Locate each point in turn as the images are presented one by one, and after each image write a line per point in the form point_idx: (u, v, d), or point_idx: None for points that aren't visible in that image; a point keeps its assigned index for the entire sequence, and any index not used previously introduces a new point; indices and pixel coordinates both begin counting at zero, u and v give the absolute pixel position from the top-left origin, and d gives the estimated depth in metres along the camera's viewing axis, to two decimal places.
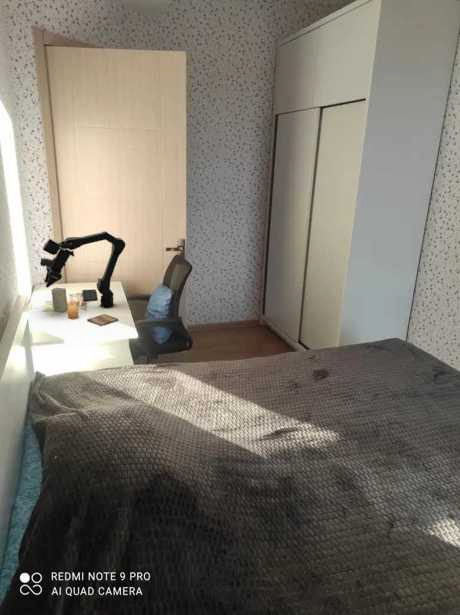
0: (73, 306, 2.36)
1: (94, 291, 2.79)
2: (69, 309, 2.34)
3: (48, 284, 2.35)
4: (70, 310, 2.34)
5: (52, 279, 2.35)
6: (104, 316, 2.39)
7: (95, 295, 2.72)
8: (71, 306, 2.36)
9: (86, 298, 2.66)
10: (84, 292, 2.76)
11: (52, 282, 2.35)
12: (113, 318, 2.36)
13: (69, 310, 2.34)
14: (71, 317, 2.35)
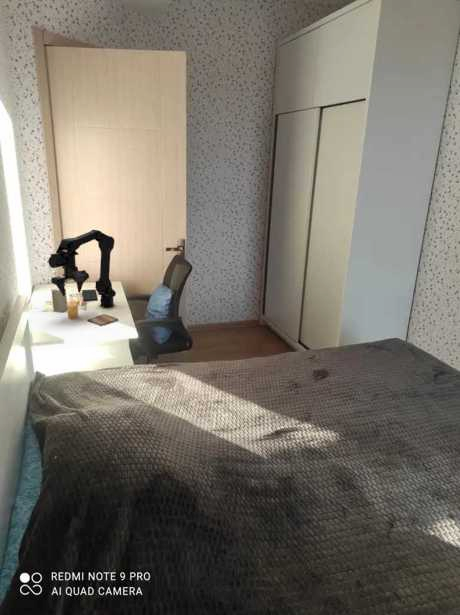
0: (73, 306, 2.36)
1: (94, 291, 2.79)
2: (69, 309, 2.34)
3: None
4: (70, 310, 2.34)
5: None
6: (104, 316, 2.39)
7: (95, 295, 2.73)
8: (71, 306, 2.36)
9: (86, 298, 2.66)
10: (84, 292, 2.76)
11: None
12: (113, 318, 2.36)
13: (69, 310, 2.34)
14: (71, 317, 2.35)
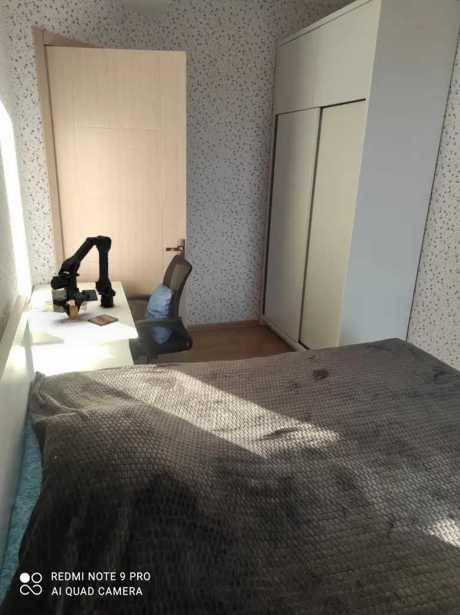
0: (74, 306, 2.36)
1: (93, 291, 2.79)
2: (69, 309, 2.34)
3: None
4: (70, 310, 2.34)
5: None
6: (104, 316, 2.39)
7: (95, 295, 2.73)
8: (71, 306, 2.36)
9: None
10: None
11: None
12: (113, 318, 2.36)
13: None
14: (71, 317, 2.35)
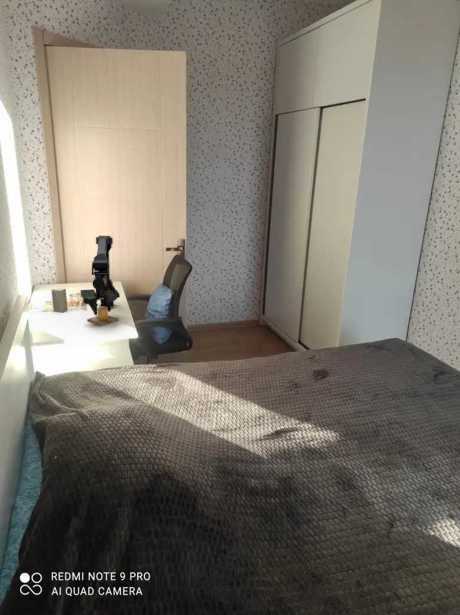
0: (103, 307, 2.33)
1: (93, 291, 2.79)
2: (99, 310, 2.31)
3: None
4: (100, 312, 2.31)
5: None
6: None
7: None
8: (101, 307, 2.33)
9: None
10: (83, 292, 2.76)
11: None
12: (113, 318, 2.36)
13: (99, 311, 2.31)
14: (101, 318, 2.32)
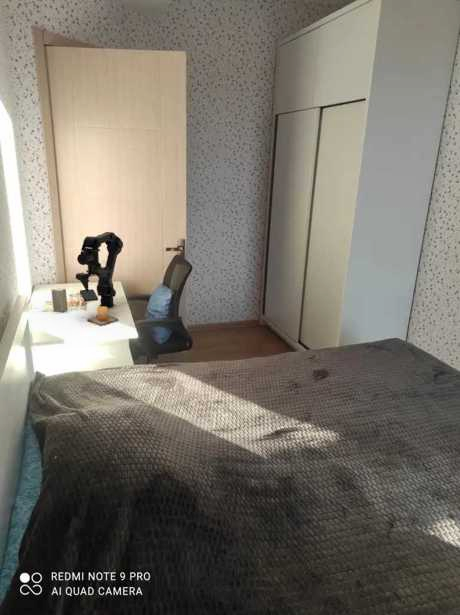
0: (103, 307, 2.33)
1: (92, 291, 2.79)
2: (99, 310, 2.31)
3: None
4: (100, 312, 2.31)
5: None
6: None
7: (95, 294, 2.73)
8: (101, 307, 2.33)
9: (86, 298, 2.66)
10: (82, 292, 2.76)
11: None
12: (113, 318, 2.36)
13: (99, 311, 2.31)
14: (101, 319, 2.32)
